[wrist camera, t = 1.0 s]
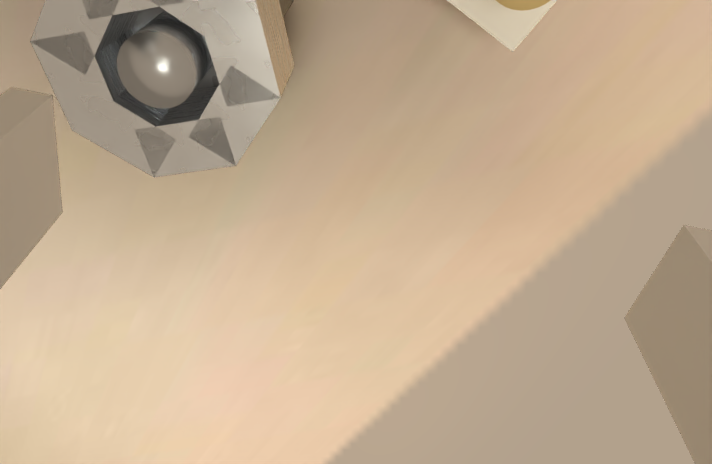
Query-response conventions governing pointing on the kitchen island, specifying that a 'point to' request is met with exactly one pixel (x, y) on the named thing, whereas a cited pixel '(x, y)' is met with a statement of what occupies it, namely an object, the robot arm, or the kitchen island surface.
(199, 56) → the stand
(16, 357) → the kitchen island surface
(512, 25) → the hub
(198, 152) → the ring
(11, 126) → the robot arm
